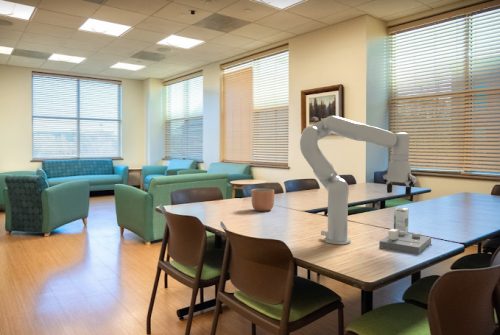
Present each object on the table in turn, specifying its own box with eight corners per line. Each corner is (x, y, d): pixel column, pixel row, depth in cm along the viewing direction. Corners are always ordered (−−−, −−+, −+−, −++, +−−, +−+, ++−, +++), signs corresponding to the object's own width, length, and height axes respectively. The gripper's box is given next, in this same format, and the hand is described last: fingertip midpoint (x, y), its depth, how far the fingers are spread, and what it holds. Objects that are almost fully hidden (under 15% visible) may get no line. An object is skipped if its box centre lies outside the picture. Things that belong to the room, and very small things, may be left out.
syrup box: (396, 233, 192) (397, 206, 191) (408, 235, 188) (408, 207, 188) (393, 235, 188) (393, 208, 187) (405, 237, 184) (405, 209, 183)
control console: (379, 247, 166) (379, 236, 166) (394, 237, 183) (394, 228, 183) (418, 254, 156) (418, 242, 155) (431, 243, 172) (431, 233, 172)
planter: (259, 207, 277) (259, 188, 276) (278, 209, 267) (278, 189, 267) (246, 210, 264) (246, 190, 263) (266, 213, 254) (266, 191, 253)
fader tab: (388, 239, 168) (388, 230, 168) (391, 237, 172) (391, 228, 172) (394, 240, 166) (395, 231, 166) (398, 237, 170) (398, 229, 170)
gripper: (379, 157, 178) (378, 192, 179) (412, 159, 163) (411, 196, 164) (388, 157, 182) (387, 191, 183) (421, 159, 168) (419, 195, 169)
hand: (398, 193), depth 174 cm, fingers open, 9 cm apart
